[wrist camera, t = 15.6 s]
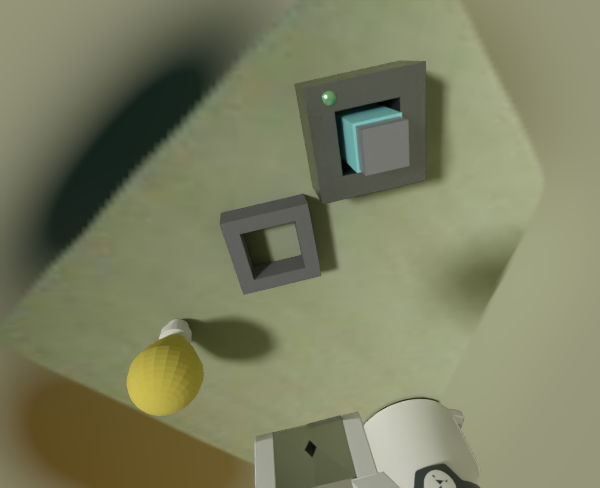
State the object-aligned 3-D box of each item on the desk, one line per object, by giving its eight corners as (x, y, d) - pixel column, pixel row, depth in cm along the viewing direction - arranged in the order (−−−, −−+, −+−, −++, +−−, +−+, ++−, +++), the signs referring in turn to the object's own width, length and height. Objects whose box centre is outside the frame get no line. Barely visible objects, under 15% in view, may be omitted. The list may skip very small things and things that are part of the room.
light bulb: (145, 347, 38) (116, 432, 30) (146, 300, 36) (115, 378, 27) (206, 351, 40) (196, 432, 31) (212, 306, 37) (203, 381, 28)
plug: (374, 143, 31) (412, 168, 24) (336, 152, 31) (363, 179, 24) (371, 102, 29) (411, 115, 22) (330, 111, 29) (358, 127, 22)
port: (403, 165, 33) (426, 180, 29) (312, 186, 32) (322, 205, 28) (400, 60, 28) (427, 61, 24) (294, 83, 28) (303, 88, 24)
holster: (316, 262, 36) (321, 275, 34) (243, 280, 36) (243, 294, 34) (303, 193, 32) (307, 203, 30) (221, 213, 32) (219, 224, 30)
